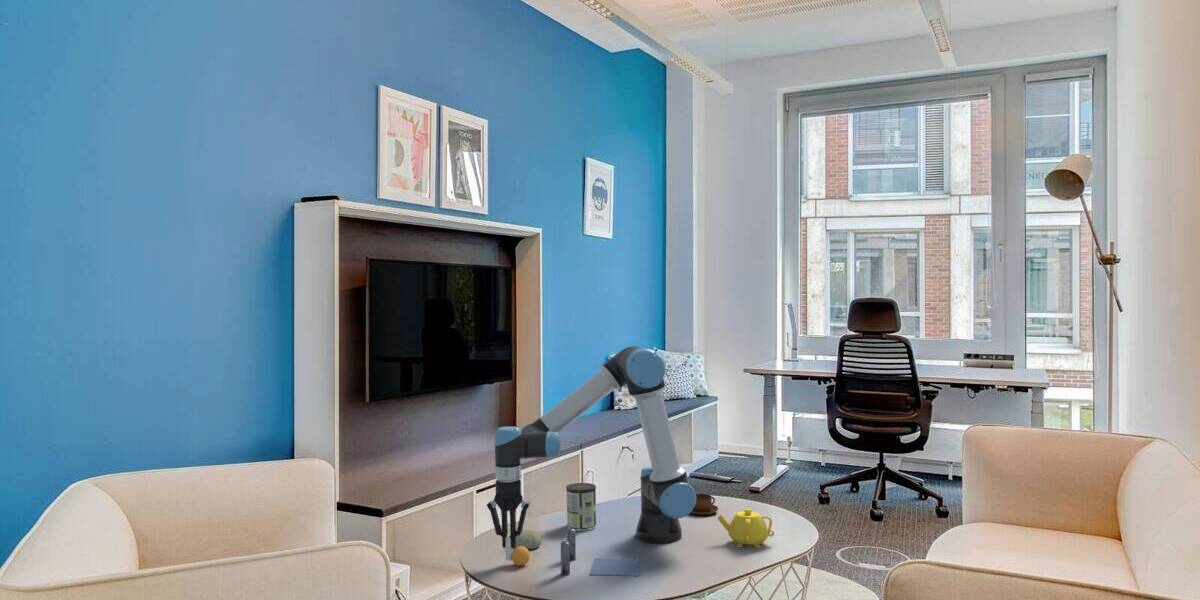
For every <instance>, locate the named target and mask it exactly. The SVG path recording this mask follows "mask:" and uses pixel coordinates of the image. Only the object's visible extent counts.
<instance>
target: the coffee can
mask: <svg viewBox="0 0 1200 600" xmlns="http://www.w3.org/2000/svg"><path fill="white" fill-rule="evenodd" d="M565 489H566V521H567V522H566V527H567V528H566V529H569V528H574V529H575V532H586V531H591V530H594V529H596V528H597V503H596V501H597V500H596V496H597V495H596V489H597V487H596V485H595V484H593V483H590V482H589V483H588V482H575V483H571V484H567V485H566V487H565Z"/></svg>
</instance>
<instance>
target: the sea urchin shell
mask: <svg viewBox="0 0 1200 600" xmlns="http://www.w3.org/2000/svg"><path fill="white" fill-rule="evenodd" d="M542 539H543V538H542V535H541V534H540V533H539V532H538V531H536V530H534V529H522V532H521V534H520V535H519V536H516V546H515V547H514V548H516V547H519V546H523V547H525V548H527V549H528V550H533V549H536V548H538V547H539V546H540V545H541V544H542Z"/></svg>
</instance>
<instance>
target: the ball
mask: <svg viewBox="0 0 1200 600" xmlns="http://www.w3.org/2000/svg"><path fill="white" fill-rule="evenodd" d="M530 556H531V555H530V551H529V549H527V548H525V547H523V546H519V547H514V548H513V551H512V554H511V558H512V559H511V561H512V563H514V564H515V565H516V566H524V565H526V564H527V563H528V562H529V561H530Z"/></svg>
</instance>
